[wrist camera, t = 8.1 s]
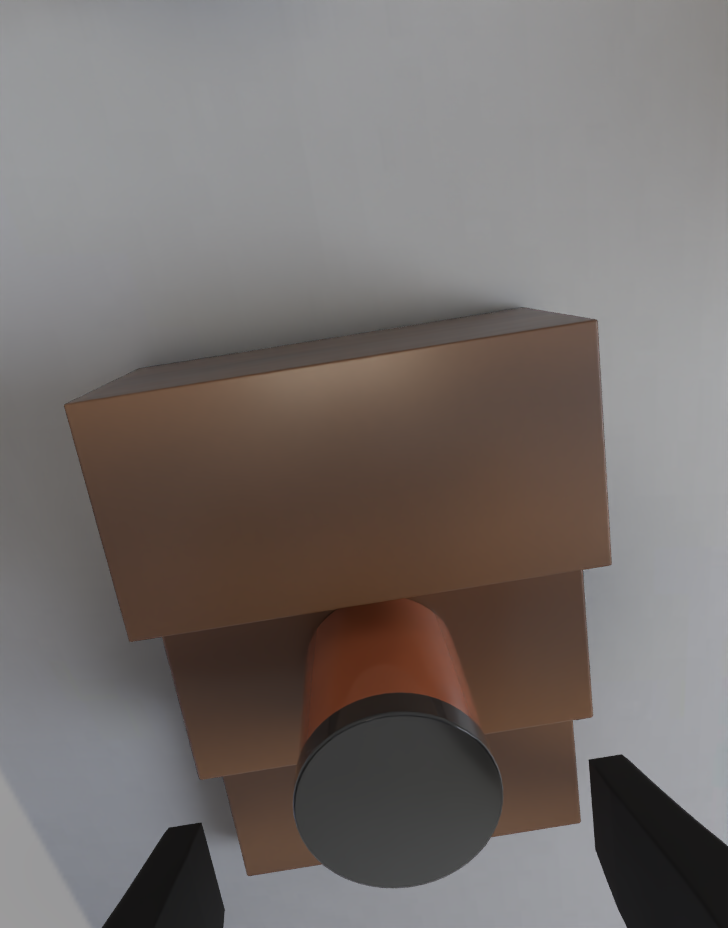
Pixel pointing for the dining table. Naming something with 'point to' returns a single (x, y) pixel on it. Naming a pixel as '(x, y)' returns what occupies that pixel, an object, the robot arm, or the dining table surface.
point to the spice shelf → (361, 536)
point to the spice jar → (391, 750)
